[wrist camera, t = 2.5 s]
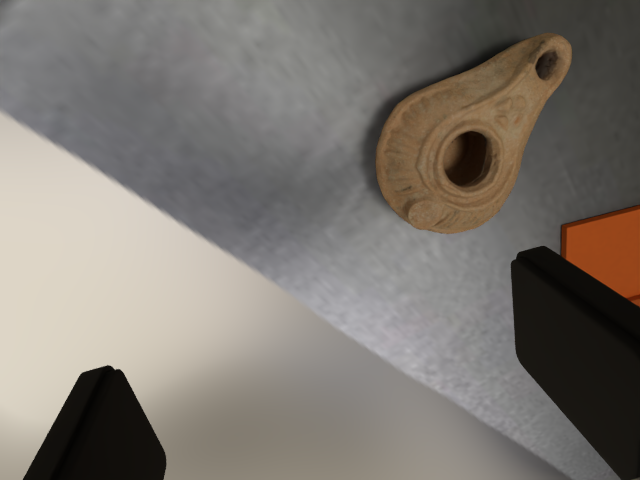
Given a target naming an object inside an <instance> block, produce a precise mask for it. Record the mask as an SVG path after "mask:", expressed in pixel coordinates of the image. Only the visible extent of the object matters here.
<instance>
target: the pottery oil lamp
mask: <svg viewBox="0 0 640 480" xmlns="http://www.w3.org/2000/svg"><path fill="white" fill-rule="evenodd" d="M571 59H572V48H571V45H570V43H569V42H568V41H567V40H566V39H565V38H563V37H562V36H560V35H557V34H554V33H544V34H541V35H538V36H535V37H531V38H528V39H526V40H522V41H520V42H518V43H516V44H514V45H512V46H510V47H509V48H507V49H506V50H504V51H502V52H500V53H498V54H497V55H495V56H494V57H492V58H491V59H489V60H488V61H486V62H484V63H482V64H480V65H479V66H477V67H475V68H473V69H471V70H469V71H467V72H463V73H461V74H458V75H456V76H453V77H450V78H447V79H445V80H442V81H440V82H437V83H435V84H432V85H430V86H428V87H425V88H423V89H421V90H419V91H416V92H414V93H412V94H411V95H409V96H407V97H406V98H405V99H403V100H402V101H401V102H399V103H398V104H397V105H396V106H395V108H394V109H393V111H392V112H391V114H390V115H389V117H388V119H387V120H386V122H385V124H384V127H383V129H382V132H381V135H380V138H379V140H378V144H377V148H376V159H375V164H376V175H377V180H378V184H379V186H380V189H381V192H382V194H383V197H384V198H385V200H386V201H387V202H388V204H389V205H390V206H391V207H392V209H393V210H394V211H395V212H396V213H397V214H398V215H399V216H400V217H401V218H402V219H403V220H405V221H406V222H408V223H409V224H411V225H412V226H413V227H415V228H417V229H420V230H429V231H433V232H438V233H446V234H452V233H458V232H463V231H466V230H470V229H474V228H476V227H479V226H481V225H482V224H484V223H485V222H486V221H488V220H489V219H490V218H492V217H493V216H494V215H495V214H496V213H497V212H498V211H499V210H500V208H501V207H502V205H503V203H504V202H505V200H506V199H507V198H508V196H509V194H510V192H511V190H512V188H513V186H514V184H515V181H516V179H517V175H518V172H519V168H520V164H521V160H522V155H523V152H524V148H525V146H526V143H527V141H528V138H529V136H530V134H531V131H532V129H533V127H534V125H535V123H536V121H537V118H538V116H539V114H540V112H541V110H542V109H543V107H544V104H545V103H546V101H547V99H548V98H549V97H550V96H551V94H552V93H553V92H554V91H555V89H556V88H557V87H558V86H559V85H560V84H561V82H562V80H563V79H564V77H565V75H566V74H567V72H568V69H569V67H570V64H571Z"/></svg>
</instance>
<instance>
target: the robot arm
mask: <svg viewBox="0 0 640 480" xmlns="http://www.w3.org/2000/svg"><path fill="white" fill-rule="evenodd" d="M511 279H512V296H513V313H514V330H515V347H516V354H517V357H518V359H519V361H520V363H521V365H522V366H523V367H524V368H525V370H526V371H527V372H528V373H529V374H530V375H531V376H532V378H533V379H534V380H535V381H536V382H537V383H538V384H539V386H540V387H541V388H542V389H543V390H544V391H545V392H546V394H547V395H548V396H549V397H550V398H551V399H552V401H553V402H554V403H555V404H556V405H557V406H558V407H559V409H560V410H561V411H562V412H563V413H564V414H565V415H566V417H567V418H568V419H569V420H570V421H571V422H572V423H573V425H574V426H575V427H576V428H577V429H578V430H579V432H580V433H581V434H582V435H583V436H584V437H585V438H586V440H587V441H588V442H589V443H590V444H591V445H592V446H593V448H594V449H595V450H596V451H597V452H598V453H599V455H600V456H601V457H602V458H603V459H604V460H605V461H606V463H607V464H608V465H609V466H610V467H611V468H612V469H613V471H614V472H615V473H616V474H617V475H618V476H619V477H620V479H621V480H640V307H639V306H637V305H636V304H634V303H633V302H631V301H629V300H628V299H626V298H625V297H623V296H622V295H620V294H619V293H617V292H616V291H614V290H612V289H611V288H609V287H608V286H606V285H605V284H603V283H602V282H600V281H599V280H597V279H595V278H594V277H592V276H591V275H589V274H588V273H586V272H585V271H583V270H582V269H580V268H578V267H577V266H575V265H574V264H572V263H571V262H569V261H568V260H566V259H565V258H563V257H561V256H560V255H558V254H557V253H555V252H554V251H552V250H551V249H549V248H548V247H545V246H540V247H536V248H532V249H529V250H525V251H521V252H519V253H518V254H517V257H516V259H515V260H513V261H512V262H511ZM165 470H166V455H165V452H164V449H163V448H162V446H161V444H160V442H159V440H158V438H157V436H156V434H155V432H154V430H153V428H152V426H151V424H150V423H149V421H148V419H147V417H146V415H145V413H144V411H143V409H142V407H141V406H140V403H139V402H138V400H137V398H136V396H135V394H134V392H133V390H132V388H131V387H130V385H129V383H128V381H127V379H126V377H125V375H124V373H123V372H122V371H121V370H120V369H117V370H115V369H114V368H113V367H111V366H108V365H107V366H104V367H100V368H97V369H93V370H90V371H86V372H83V373H82V374H81V375H80V376H79V378H78V380H77V382H76V383H75V385H74V387H73V389H72V391H71V392H70V394H69V396H68V398H67V400H66V401H65V403H64V405H63V407H62V409H61V411H60V413H59V414H58V416H57V418H56V420H55V422H54V423H53V425H52V427H51V429H50V431H49V433H48V434H47V436H46V438H45V440H44V442H43V444H42V446H41V447H40V449H39V451H38V453H37V455H36V456H35V459H34V460H33V462H32V464H31V466H30V467H29V469H28V471H27V473H26V475H25V476H24V478H23V480H163V479H164V475H165Z"/></svg>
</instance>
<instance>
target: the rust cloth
mask: <svg viewBox="0 0 640 480" xmlns="http://www.w3.org/2000/svg"><path fill="white" fill-rule="evenodd" d="M561 257H563V258H565V259H566V260H568V261H569V262H571V263H572V264H574V265H575V266H577V267H578V268H580V269H582V270H583V271H585V272H586V273H588V274H589V275H591V276H592V277H594V278H595V279H597V280H599V281H600V282H602V283H603V284H605V285H606V286H608V287H609V288H611V289H612V290H614V291H616V292H617V293H619V294H620V295H622V296H623V297H625V298H626V299H628V300H629V301H631V302H633V303H634V304H636V305H637V306H639V307H640V205H638V206H634V207H630V208H627V209H623V210H619V211H615V212H611V213H607V214H603V215H600V216H596V217H592V218H588V219H584V220H580V221H576V222H572V223H569V224H565V225H562V245H561Z"/></svg>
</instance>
